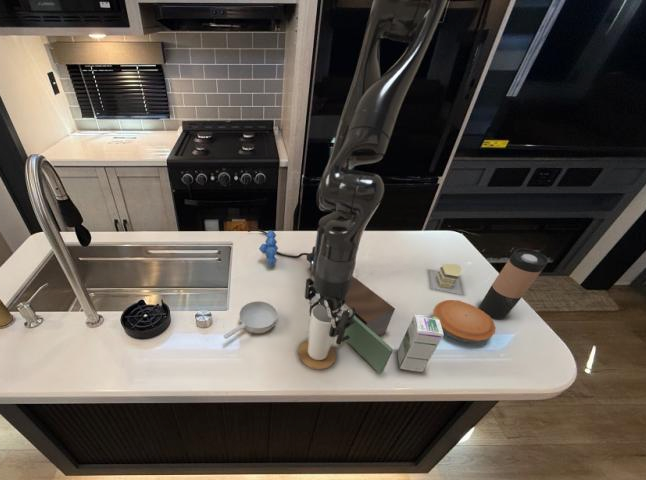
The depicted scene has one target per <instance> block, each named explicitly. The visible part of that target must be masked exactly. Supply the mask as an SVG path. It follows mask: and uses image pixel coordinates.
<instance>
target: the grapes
mask: <svg viewBox="0 0 646 480" xmlns="http://www.w3.org/2000/svg"><path fill="white" fill-rule="evenodd" d="M265 235H266V237H267V238H266V240H265V242H264V243H262V244H261V245H260V246H259V248H258V249H259V251H260V252H261V253H262V254H265V256H266V260H267V261H266V264H267V265H268V266H269V267H270V268H272V267H274V266H275V265H276V264H277V261H278V259H277V257H276V255H277V254H276V253H277V252H278V249H279V247H278V246H277V242H278V241H277V240H276V236H277V234H276V233H275V232H274V230H271V229H270V230H268V231H267V234H265Z"/></svg>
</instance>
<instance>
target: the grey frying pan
mask: <svg viewBox="0 0 646 480" xmlns="http://www.w3.org/2000/svg"><path fill="white" fill-rule="evenodd" d="M277 319H278V312H277V310H276V307H274V306H273V305H272V304H271V303H268V302H266V301H261V300H260V301H251V302H248V303H246V304H244V305H243V306H242V307H241V308H240V310H239V320H240V323H241V324H239V325H238V326H236V327H234V328H233V329H231V330H230V331H228V332H227V333H225V334H224V335H223V338H224V339H229V338H230V337H232V336H233V335H235V334H236V333H238V332H240V331H241V330H242V329H244V328H245V330H247V331H248V332H250V333H252V334H264V333H265V334H266V332H269V331H270V330H271V329H272V328H273V327H274V326H275V325H276V323H277Z"/></svg>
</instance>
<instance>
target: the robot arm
mask: <svg viewBox="0 0 646 480" xmlns="http://www.w3.org/2000/svg"><path fill="white" fill-rule="evenodd" d="M447 3H448V0H373V2H372V4H371V8H370V12H369V16H368V21H367V24H366V29H365V33H364V37H363V41H362V45H361V49H360V51H359V57H358V61H357V64H356V68H355V72H354V76H353V78H352V81H351V85H350V87H349V91H348V94H347V97H346V101H345V103H344V106H343V110H342V113H341V116H340V120H339V122H338V126H337V130H336V134H335V138H334V141H333V145H332V149H331V152H330V155H329V158H328V161H327V163H326V166H325V168H324V171H323V173H322V176H321V178H320V181H319V184H318V188H317V191H316V206H317V208H318V209H319V211H322V212H325V213H326V212H327V213H328V212H329V213H328V214H326V215H323V216H322V217H321V218H319V221H318V223H317V229H316V238H315V245H314V246H313V247H312V250H311V252H310V253H309V252H301V253H299V254H298V255H288V254H285V253H281V252H279V251H277V253H276V254H275V255H279V256H281V257H285V258H291V259H299V258H301V257H303V256H306V261H307V262H308V263H310V265H309V271H310V275H311V277H308V278H306V279H305V290H304V298H305V300H307V301H308V304H309V317H310V316H311V312H312V309H313V307H314V306H316V305H318V304H321V305H322V306H324V307H325V309H326V310H327V313H328V317H329V318H331V323H332V325H331V329H330V333H329V336H330V337H334V338H336V337H338V335H339V334H340V331H343V330H345V329H347V328H348V327H350V325H351V322H352V320H353V317H354V314H355V312H356V310H355V308H354V307H352V308H349V307H348V306H347V305H346V304H345V303H346V302H345V296H346V295H347V293H348V291H349V288H350V284H351V280H352V276H353V277H354V272H355V268H356V263H357V255H358V251H359V248H360V247H359V246H360V242H361V240H362V237H363V234H364V231H365V229H366V227H367V225H368V224H369V222H370V220H371V219H372V217H373V215H374V214H375V212H376V211H377V209H378V208H379V206H380V204H381V202H382V200H383V198H384V196H385V188H386V187H385V183H384V182H385V181H384V179H383V178H382V177H381V176H380V175H379V174H377V173H373V172H367V171H361V170H355V169H353V168H355V167H357V166H360V165H369V164H370V165H371V164H375V163H379V162H380V161H381V160H382V159H383V158H384V157H385V155H386V152H387V150H388V148H389V144H390V141H391V138H392V135H393V132H394V130H395V127H396V123H397V121H398V117H399V114H400V111H401V108H402V106H403V104H404V102H405V99H406V96H407V94H408V92H409V90H410V88H411V86H412V84H413V81H414V80H415V78H416V75H417V74H418V71H419V69H420V67H421V64H422V62H423V60H424V58H425V55H426V53H427V51H428V48H429V47H430V44H431V41H432V40H433V37H434V35H435V32H436V30H437V27H438V25H439V23H440V20H441V18H442V16H443V13H444V11H445V8H446V5H447ZM382 39H385V40H391V41H395V42H400V43H405V44H408V46H407V47H406V49H405V51H404V52H403V54H402V55H401V56H400V58H399V59H398V60H397V61H395V63H394V64H393V65H392V66H391V67H390V68H389V69H388V70H387V71H386V72H384V74H381V63H380V62H381V60H380V59H381V57H380V56H381V45H382V44H381V43H382ZM253 231H254V232H255V231H256V232H259V233H263V234H264V235H266V234H267V233H268V231H266V230H263V229H260V228H250V229H248V230H247V232H248V233H250V232H253ZM337 309H338V310H337ZM335 310H337V312H334V313H333V312H332V311H335ZM336 317H338V321H336Z"/></svg>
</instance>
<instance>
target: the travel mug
mask: <svg viewBox="0 0 646 480" xmlns="http://www.w3.org/2000/svg"><path fill="white" fill-rule="evenodd" d="M548 263H549V259H548V258H547V256H546V255H544V254H543V253H542V252H539V251H537V250H533V249H529V248H517V249H515V250H514V251H513V253H512V254H511V256H510V257H509V259H508V260H507V262H506V263H505V265H503V267H502V269H501V271H500V272H499V274H497V276H496V278H495V279H494V281H493V283H492V284H491V285H490V287H489V289H488V290H487V292H486V294H485V295H484V297H483V299H482V301H481V302H480V304H479V306H478V309H480V310H482V311H483V312H485V313H486V314H487V315H489V316H490V317H491V319H492V320H503V319H505V318H507V316H508V315H509V314H510V312H511V311H512V310H513V309H514V307H516V305H517V304H518V303H519V301H520V300H522V298H523V297H524V295H525V294H526V293H527V291H528V290H529V289H530V288H531V286H532V285H533V283H534V282H535V281H536V280H537V278H538V277H539V276H540V275H541V273H542V272H543V270H544V269H545V267H547V265H548Z"/></svg>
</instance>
